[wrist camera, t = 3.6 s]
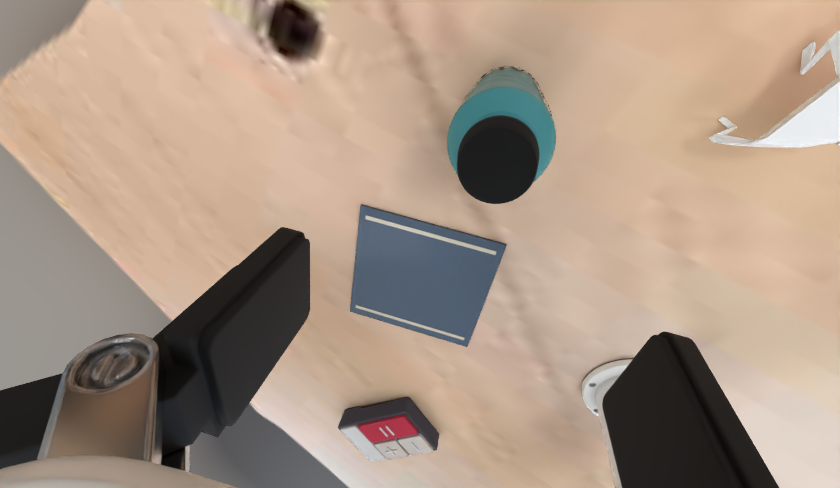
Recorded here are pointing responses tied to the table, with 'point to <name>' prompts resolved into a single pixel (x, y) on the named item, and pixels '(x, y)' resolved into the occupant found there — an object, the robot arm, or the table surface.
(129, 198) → the table surface
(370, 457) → the black buttoned block
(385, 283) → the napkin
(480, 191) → the beverage bottle
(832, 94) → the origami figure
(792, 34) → the table surface
